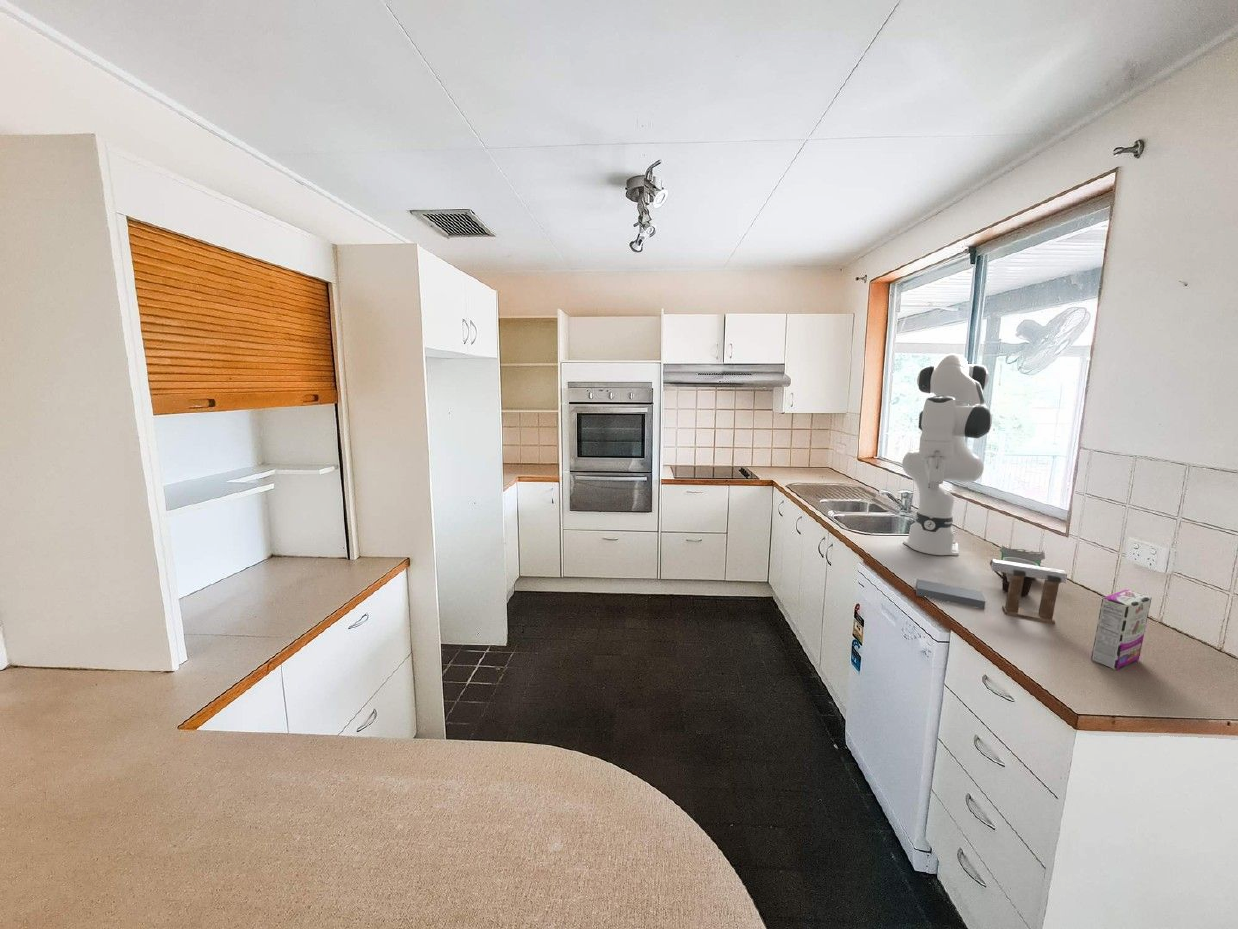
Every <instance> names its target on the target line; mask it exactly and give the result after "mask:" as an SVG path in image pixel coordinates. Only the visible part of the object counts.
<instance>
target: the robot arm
mask: <svg viewBox="0 0 1238 929" xmlns="http://www.w3.org/2000/svg"><path fill="white" fill-rule="evenodd" d="M989 379H990V375H989V372H988V370H987V367H986V366H985V365H983V364H977V363H975V364H968V361H967V359H966V358H965V357H964V356H963V355H961V354H958V353H949V354H946V355H944V356H942V357H941V358H939V360H938V362H937V363H936V364H935V365H934V364H932V365H927V366H924V367H922V368H921V369H920V371H919V372H918V375H917V378H916V382H917V386H918V390H919V391H920V392H921V393H924V394H934V395H931V396H929V397H926V399H925V401H924V405H923V410H921V412H919V415H918V429H919V430H920V431H921V434H920V439H919V448H918V449H916V450H909V451H908V452H907V453H906V454H905V455H904V457H903V458H902V463H901V464H902V465H901V467H902V469H903V472H904V473H905V474H906V475H907V476H909V477H910V478H911V479H912V480H913V481H914V483H915V485H916V487H917V489H918V498H919V499H918V511H917V512H916V515H915V522H913V523H912V524H910V527H909V533H908V537H907V539H905V540H903V541H902V544H904V545H906V546H908V547H909V548H911V549H912V550H915V551H917V552H920V553H924V554H928V555H935V556H959V555H960V554H959V543H958V542H956V541H955V540H954V539H955V533H954V529H953V521H954V518H953V510H954V504H955V498H954V496H953V494H952V493H951V492H949V491H948V490H946V489H944V488H943V487H941V486H940V485H942V484H943V483H944V481H947V482H956V483H967V482H976V481H977V480H978V479H980V477H982V475H983V472H984V462H983V461H982V459H981V458H980V457H979V456H978V455H976V454H975V453H974V452H973V451H972V450H971V449H970V447H968V444H967V443H966V439H965V438H970V439H980V438H982V437H984V436H985V435H986V434H988V433H990V430H991V429H992V428H991V427H992V425H993V419H992V418H993V416H992V413H991V410H990V409H989V407H988V405H987V401H986V398H985V394H984V391H983V390H985V388H986V386H987V384H988V383H989Z"/></svg>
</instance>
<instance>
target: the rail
mask: <svg viewBox="0 0 1238 929" xmlns="http://www.w3.org/2000/svg"><path fill="white" fill-rule="evenodd" d="M996 559H997V558H992V559H991V560H992V563H991V565H990V569H991V571H992V572H994V571H997V572H998V573H1001V572H1003V573H1009V574H1014V571H1019V572H1025V573H1026V576H1027V577H1033V578H1036V579H1040V580H1048V579H1049V577H1055V578H1061V583H1062V584H1063V583H1064V584H1066V583H1067V578H1068V573H1067V572H1066V571H1065V570H1064V569H1057V568H1051V567H1046V566H1041V565H1040V566H1034V565H1028V564H1021V563H1015V562H1009V561H1003V560H1001V559H1000V560H996Z"/></svg>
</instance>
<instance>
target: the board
mask: <svg viewBox="0 0 1238 929" xmlns="http://www.w3.org/2000/svg"><path fill="white" fill-rule="evenodd" d="M915 592H916V596H918V597H923V596H926V597H925V598H927V597H930V598H929V599H932V598H934V599H933V600H937V601H943V602H947V601H949V602H948V603H953V604H958V605H962V606H967V607H972V608H977V609H983V610H985V607H986V600H985V597H984V595H983V594H984V593H983V591H982V590H977V589H972V588H967V587H960V586H955V585H949V584H945V583H941V582H935V581H929V580H925V579H920V578H919V579H918V578H916V583H915ZM923 598H924V597H923Z"/></svg>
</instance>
